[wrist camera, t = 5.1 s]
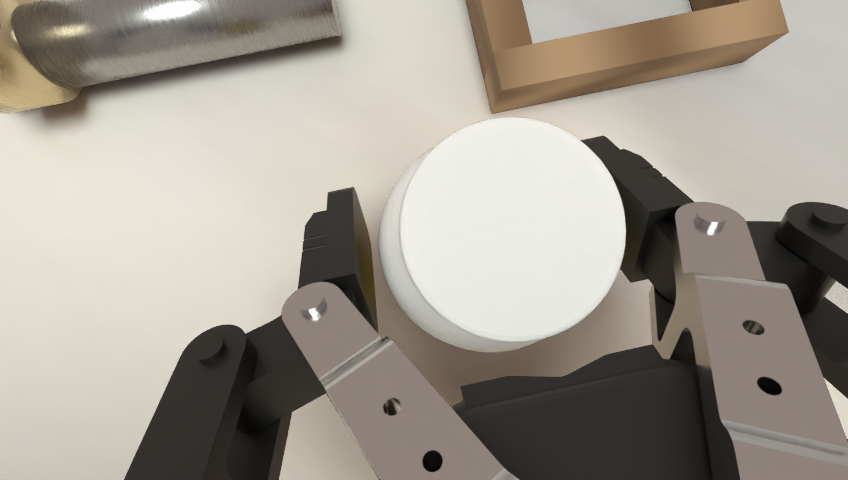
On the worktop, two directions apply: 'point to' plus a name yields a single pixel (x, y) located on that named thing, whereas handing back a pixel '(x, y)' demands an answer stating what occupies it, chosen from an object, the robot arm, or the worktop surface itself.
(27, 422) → the worktop surface
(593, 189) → the supplement bottle
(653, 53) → the collar block
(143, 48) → the shaft
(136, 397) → the worktop surface
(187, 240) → the worktop surface
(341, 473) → the worktop surface
